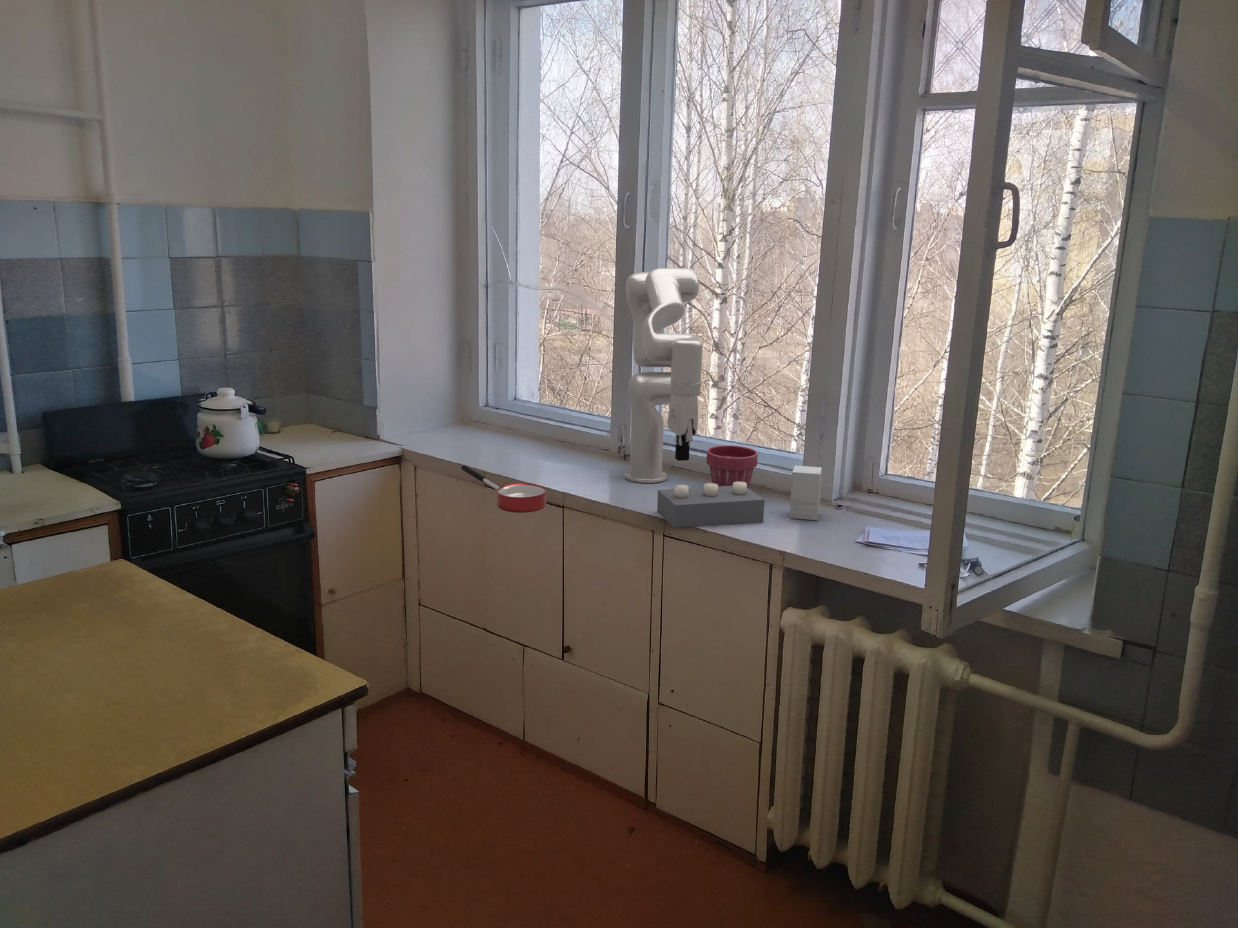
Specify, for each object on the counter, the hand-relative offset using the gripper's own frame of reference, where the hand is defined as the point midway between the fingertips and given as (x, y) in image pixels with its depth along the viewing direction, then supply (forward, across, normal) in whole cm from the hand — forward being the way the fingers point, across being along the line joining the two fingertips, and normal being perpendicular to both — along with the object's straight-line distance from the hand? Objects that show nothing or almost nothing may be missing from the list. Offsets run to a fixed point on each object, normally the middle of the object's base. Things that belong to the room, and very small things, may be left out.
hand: (681, 459), depth 242 cm
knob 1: (+14, +1, 0) cm, 14 cm away
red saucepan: (+17, -26, -43) cm, 53 cm away
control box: (+15, +1, +8) cm, 17 cm away
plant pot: (+16, -17, +21) cm, 31 cm away
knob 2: (+14, +1, +8) cm, 16 cm away
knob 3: (+14, +1, +16) cm, 21 cm away
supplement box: (+16, +5, +33) cm, 37 cm away
